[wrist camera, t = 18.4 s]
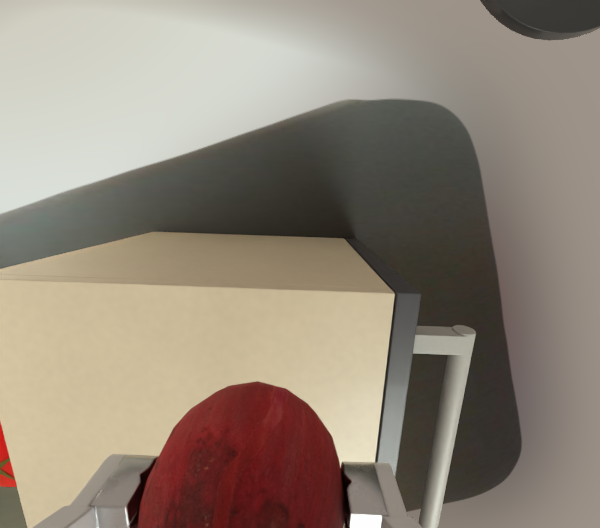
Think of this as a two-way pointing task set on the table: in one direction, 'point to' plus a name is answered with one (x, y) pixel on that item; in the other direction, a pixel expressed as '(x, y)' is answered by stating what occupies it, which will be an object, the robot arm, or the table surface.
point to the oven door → (399, 359)
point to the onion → (246, 465)
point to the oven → (180, 346)
